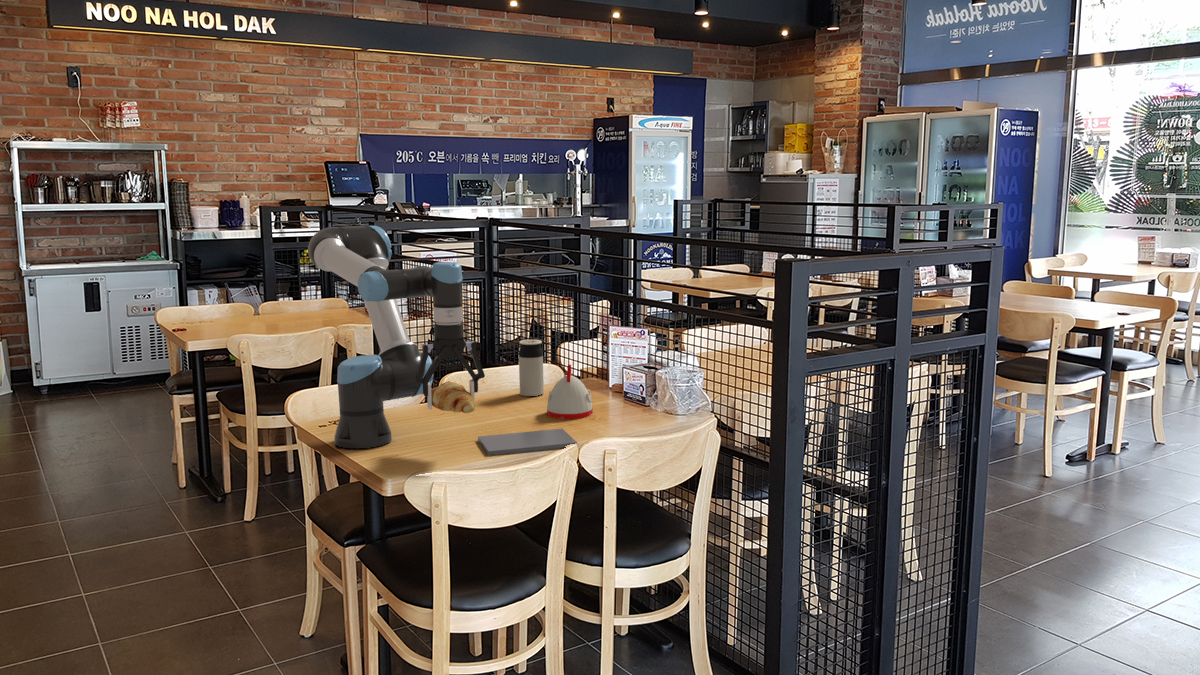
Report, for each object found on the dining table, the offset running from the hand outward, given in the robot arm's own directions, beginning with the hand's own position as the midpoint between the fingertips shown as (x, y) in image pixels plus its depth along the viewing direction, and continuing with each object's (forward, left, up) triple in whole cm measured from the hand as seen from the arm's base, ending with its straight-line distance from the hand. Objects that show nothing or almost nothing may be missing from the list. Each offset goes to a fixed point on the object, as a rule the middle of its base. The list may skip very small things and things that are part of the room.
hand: (451, 406), depth 239 cm
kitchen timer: (+40, +29, -13) cm, 51 cm away
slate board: (+20, +1, -12) cm, 24 cm away
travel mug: (+35, +58, -13) cm, 69 cm away
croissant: (0, 0, -1) cm, 1 cm away
